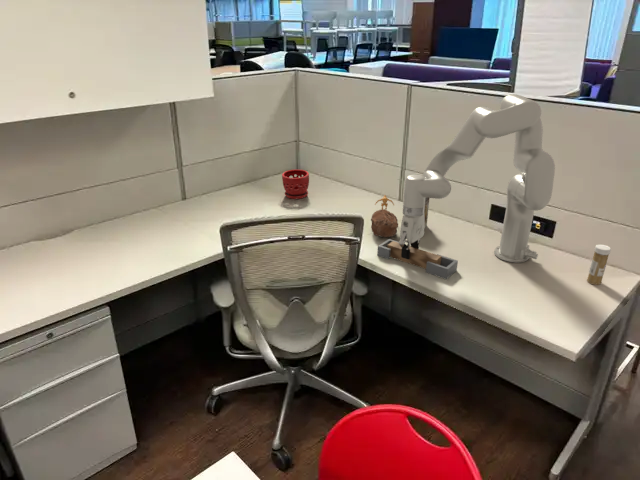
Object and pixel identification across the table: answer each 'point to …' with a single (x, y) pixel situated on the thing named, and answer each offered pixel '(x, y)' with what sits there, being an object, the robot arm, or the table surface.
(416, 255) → the slat
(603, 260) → the sprinkles bottle
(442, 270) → the end cap
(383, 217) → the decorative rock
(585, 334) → the table surface
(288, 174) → the plant pot
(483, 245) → the table surface
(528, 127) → the robot arm
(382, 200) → the figurine
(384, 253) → the end cap
